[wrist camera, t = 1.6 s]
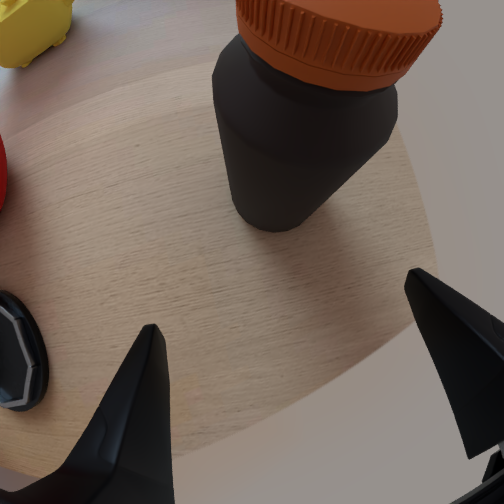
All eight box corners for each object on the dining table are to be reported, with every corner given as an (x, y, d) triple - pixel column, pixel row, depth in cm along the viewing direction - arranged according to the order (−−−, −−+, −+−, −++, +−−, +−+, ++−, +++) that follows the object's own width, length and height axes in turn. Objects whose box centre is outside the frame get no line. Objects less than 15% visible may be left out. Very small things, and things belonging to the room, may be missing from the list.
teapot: (103, -12, 26) (80, -61, 15) (110, 25, 25) (79, -35, 15) (2, 51, 25) (-33, 16, 15) (-5, 98, 25) (-51, 62, 14)
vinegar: (243, 243, 24) (229, 96, 4) (222, 162, 24) (174, -70, 4) (326, 221, 24) (519, 85, 4) (301, 144, 24) (388, -69, 4)
